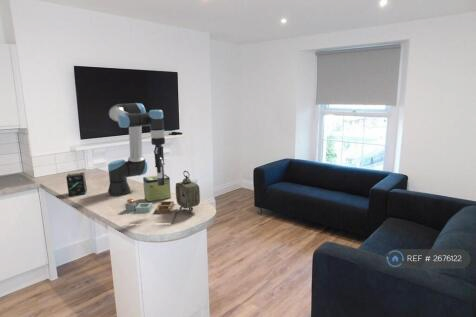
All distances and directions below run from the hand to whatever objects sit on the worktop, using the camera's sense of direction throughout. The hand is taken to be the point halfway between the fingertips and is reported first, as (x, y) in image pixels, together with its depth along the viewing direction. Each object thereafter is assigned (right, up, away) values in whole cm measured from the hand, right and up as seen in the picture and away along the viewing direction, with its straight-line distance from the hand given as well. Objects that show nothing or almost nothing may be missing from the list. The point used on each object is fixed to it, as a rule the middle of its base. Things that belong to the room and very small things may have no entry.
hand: (160, 176), depth 185 cm
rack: (0, -21, +9) cm, 23 cm away
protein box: (-9, -17, +29) cm, 35 cm away
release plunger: (-20, -19, +7) cm, 28 cm away
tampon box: (-71, -15, +46) cm, 86 cm away
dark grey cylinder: (0, -5, +1) cm, 5 cm away
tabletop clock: (+15, -21, +7) cm, 27 cm away
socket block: (-15, -22, +7) cm, 27 cm away
